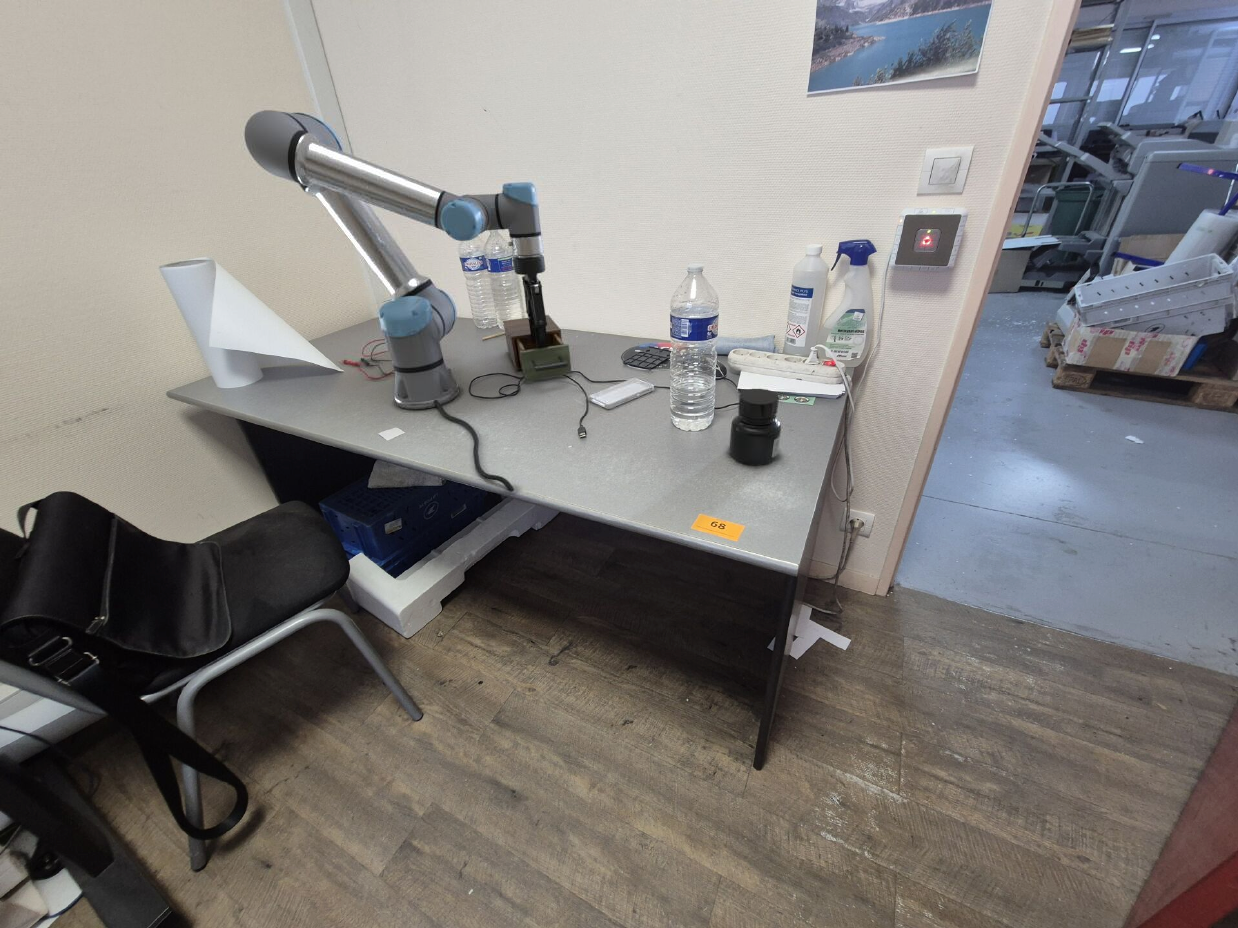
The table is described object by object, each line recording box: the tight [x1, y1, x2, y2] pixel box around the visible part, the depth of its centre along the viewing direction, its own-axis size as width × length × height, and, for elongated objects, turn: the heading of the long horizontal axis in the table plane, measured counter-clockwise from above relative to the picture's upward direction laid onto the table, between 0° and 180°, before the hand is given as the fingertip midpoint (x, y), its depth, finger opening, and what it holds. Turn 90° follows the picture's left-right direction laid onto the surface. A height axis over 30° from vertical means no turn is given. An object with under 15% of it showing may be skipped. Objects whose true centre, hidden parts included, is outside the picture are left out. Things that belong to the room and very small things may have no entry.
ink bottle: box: [729, 388, 782, 466], centre depth 92 cm, size 10×9×12 cm
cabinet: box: [502, 314, 563, 372], centre depth 145 cm, size 17×14×10 cm
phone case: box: [588, 377, 655, 410], centre depth 121 cm, size 7×1×15 cm
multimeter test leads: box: [339, 338, 395, 380], centre depth 149 cm, size 23×4×25 cm
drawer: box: [515, 333, 572, 382], centre depth 133 cm, size 22×12×8 cm, turn 19°
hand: (539, 347), depth 133 cm, fingers open, 8 cm apart
